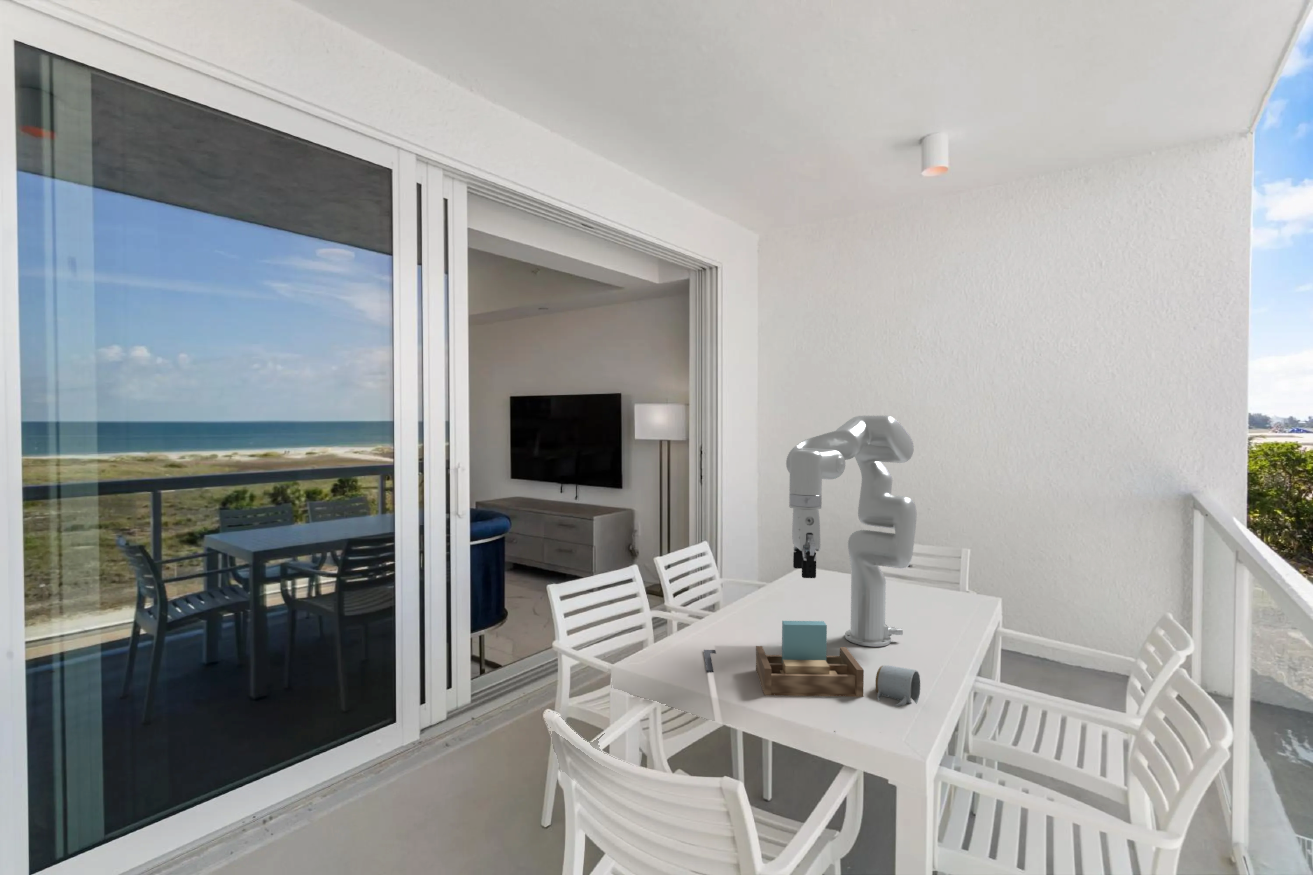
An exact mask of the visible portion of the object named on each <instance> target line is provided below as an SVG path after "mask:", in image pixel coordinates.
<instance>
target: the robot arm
mask: <svg viewBox="0 0 1313 875" xmlns="http://www.w3.org/2000/svg"><path fill="white" fill-rule="evenodd" d="M913 442H914V441H913V439H912V437H911V435H910V434H909V433H908V431H907V430H906V429H905V427H904V426H903V425H902V424H901V423H900V422H899V421H898V420H897V419H896V418H894V417H893V416H892V415H857V416H854V417H852V418H849V419H848V421H846V422H844V423H843V424H842V425H841V426H839V427H838V428H837V429H836V430H833V431H828V432H826V433H822V434H819V435H816V436H812V437H809V438H807V439H804V440H802V441H801V442H799V443H798V444H796V445H795V446H793V447H792V448H791V450H790V451H789V452H788V454H787V456H786V460H785V461H786V463H785V465H786V470H787V471H788V473H789V494H788V495H789V496H788V498H789V499H788V501H789V502H788V503H789V504H788V505H789V506H788V507H789V508H791V509H792V511H793V512H792V524H791V525H792V532H791V534H792V544H793V558H792V559H793V560H792V563H793V565H792V567H793V569H800V570H801V577H802V578H803V579H816V578H817V552H820V550H821V545H822V544H821V521H820V510H822V502H823V501H822V499H823V498H822V496H823V493H822V492H823V488H822V487H823V480H834V479H835V480H836V479H838V478H839V477H841V476H842V475H843V474H844V472H845V469H846V461H848V460H850V459H853V458H854V459H855V461H856V463H857V465H858V468H859V470H860V473H861V483H860V484H861V486H860V492H859V493H860V494H859V499H858V507H857V510H858V511H857V515H858V520H859V522H860V523H861V524H863V525H865V526H870V527H876V528H882V529H883V528H885V529H893V530H894V532H885V531H884V532H883V531H880V530H879V531H878V530H870V529H867V530H866V529H861V530H860V529H859V530H856V531H854V532H852V533H851V534H850V535H849V538H848V540H847V541H848V542H847V550H848V555H849V556H848V557H849V562H850V629H848V630H846V631H845V632H844V638H845V639H846V640H847V641H849V642H850V643H853V644H855V645H857V646H858V645H860V646H862V647H863V646H864V647H874V648H875V647H876V648H877V647H878V648H879V647H885V646H888V645H890V644H891V643H892V637H891V636H894V635H895V636H903V633H904V632H903V627H895V626H894V625H889V626H888V624H886V603H887V602H886V599H887V598H886V595H887V594H886V593H887V592H886V591H887V585H886V584H887V582H886V578H885V574H884V573H883V571H882V569H881V568H880V567H881V566H882V567H886V568H893V569H902V570H903V569H906V568H908V567H909V566H910V565H911V562H912V560H913V554H914V548H915V547H914V546H915V537H916V536H915V535H916V527H917V526H916V525H917V518H918V517H917V515H918V514H917V507H916V504H915V502H914V500H913V499H912V498H911V497H908V496H904V495H897V494H896V495H895V494H892V488H893V477H892V474H891V473H890V471H889V470H888V468H887V466H885V464H884V463H893V464H894V463H895V464H896V463H897V464H900V463H906V462H909V461H910V460H911V458H912V457H913V455H914V454H913V453H914V447H915V446H914V443H913Z"/></svg>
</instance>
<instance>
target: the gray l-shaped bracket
mask: <svg viewBox="0 0 1313 875" xmlns="http://www.w3.org/2000/svg"><path fill="white" fill-rule="evenodd" d="M712 654H713V655H714V654H717V651H716V649H703V656H704V663H705V668H706V669H705V670H706V673H714V672H715V671H714V666H713V662H712Z"/></svg>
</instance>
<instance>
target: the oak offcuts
mask: <svg viewBox="0 0 1313 875" xmlns="http://www.w3.org/2000/svg"><path fill="white" fill-rule="evenodd" d="M779 674H837V673H836V671H830V666H829V665H828V663H827V662H826V660H783V670H779Z"/></svg>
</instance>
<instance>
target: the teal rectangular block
mask: <svg viewBox="0 0 1313 875" xmlns="http://www.w3.org/2000/svg"><path fill="white" fill-rule="evenodd" d="M781 622H782V623H781V655H782V663H783V660H826V656H827V649H828V648H827V646H828V645H827V643H828V642H827V639H828V638H827V636H828V634H827V633H828V630H827V629H828V628H827V627H828V625H827V624H826V622H825V621H823V620H821V621H820V620H782V621H781Z"/></svg>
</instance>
